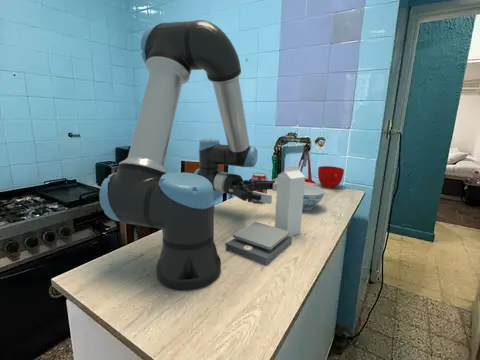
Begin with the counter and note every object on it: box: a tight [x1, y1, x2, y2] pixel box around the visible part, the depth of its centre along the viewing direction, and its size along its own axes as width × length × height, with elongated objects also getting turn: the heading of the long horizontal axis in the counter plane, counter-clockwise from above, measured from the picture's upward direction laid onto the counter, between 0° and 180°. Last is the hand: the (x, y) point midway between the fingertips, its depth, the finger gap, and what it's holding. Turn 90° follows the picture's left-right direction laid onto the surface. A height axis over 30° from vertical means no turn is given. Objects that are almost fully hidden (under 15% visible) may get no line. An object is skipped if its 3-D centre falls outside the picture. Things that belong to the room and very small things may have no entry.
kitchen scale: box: [225, 221, 293, 266], centre depth 77 cm, size 15×13×4 cm
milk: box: [274, 164, 306, 237], centre depth 85 cm, size 6×6×22 cm
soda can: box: [250, 172, 268, 204], centre depth 116 cm, size 7×7×12 cm
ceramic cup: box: [317, 165, 345, 189], centre depth 140 cm, size 13×17×10 cm
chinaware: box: [302, 184, 326, 211], centre depth 110 cm, size 15×15×8 cm
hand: (281, 194), depth 87 cm, fingers open, 13 cm apart
